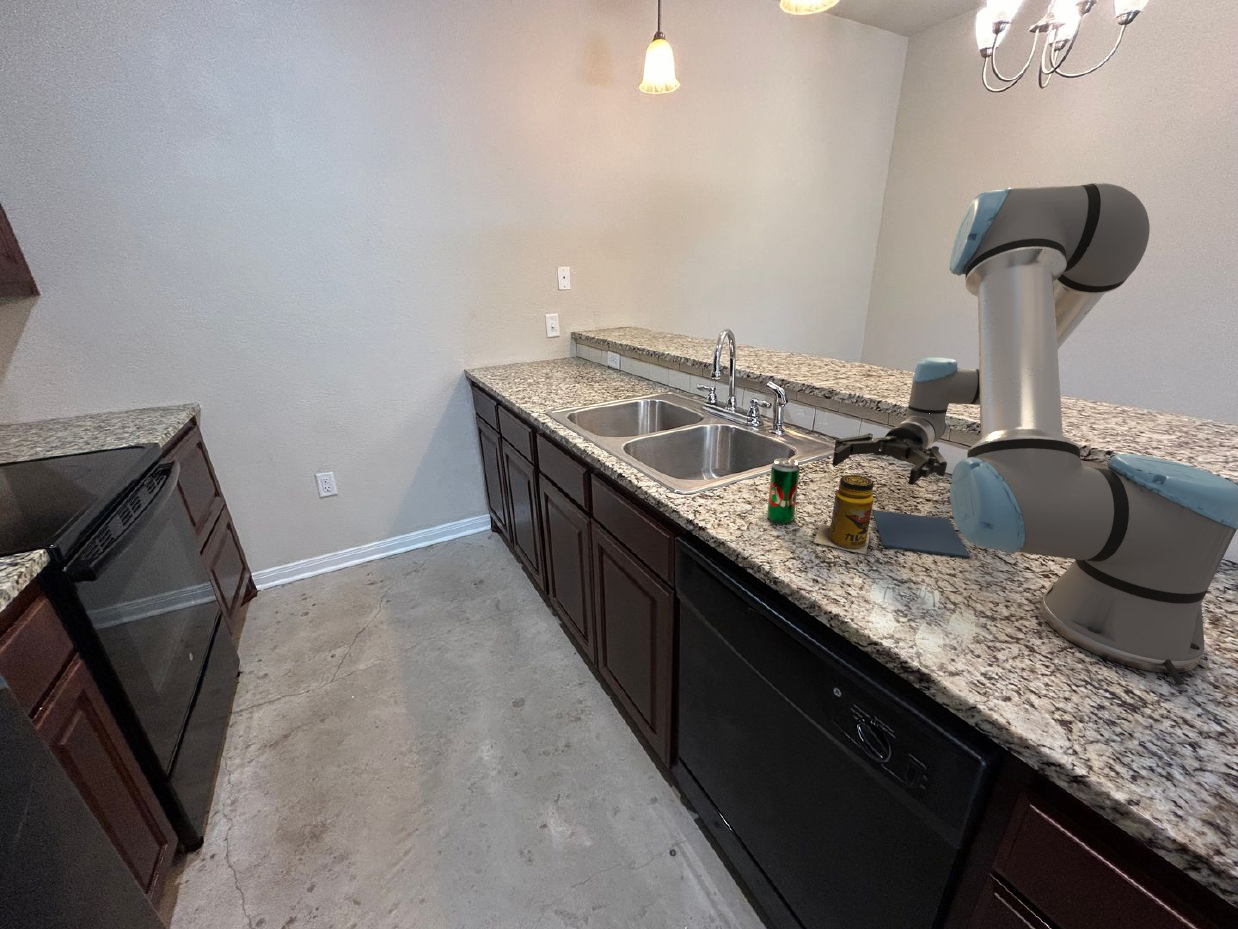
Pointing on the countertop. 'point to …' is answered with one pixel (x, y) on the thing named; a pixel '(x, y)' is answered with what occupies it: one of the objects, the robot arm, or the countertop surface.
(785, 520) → the soda can
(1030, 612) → the countertop surface
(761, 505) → the countertop surface
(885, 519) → the blue mat
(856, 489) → the condiment
